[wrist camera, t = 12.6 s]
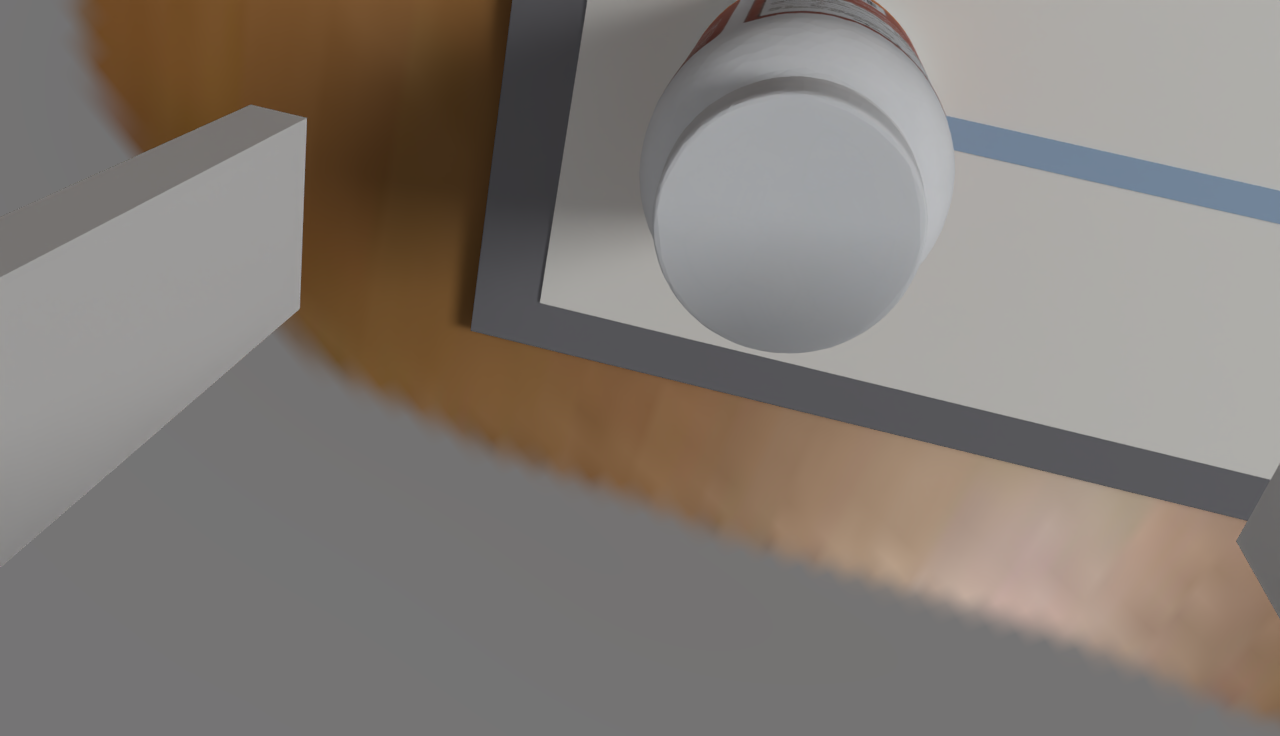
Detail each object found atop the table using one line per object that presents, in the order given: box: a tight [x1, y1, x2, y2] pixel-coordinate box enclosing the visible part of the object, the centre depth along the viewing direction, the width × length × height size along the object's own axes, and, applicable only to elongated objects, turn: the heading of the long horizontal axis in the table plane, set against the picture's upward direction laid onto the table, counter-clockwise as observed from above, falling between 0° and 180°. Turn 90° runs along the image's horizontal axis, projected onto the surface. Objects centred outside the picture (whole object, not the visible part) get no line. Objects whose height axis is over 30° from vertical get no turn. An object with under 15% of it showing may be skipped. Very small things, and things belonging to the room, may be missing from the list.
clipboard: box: [471, 0, 1280, 521], centre depth 28 cm, size 18×30×1 cm, turn 79°
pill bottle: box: [639, 0, 955, 353], centre depth 23 cm, size 6×6×11 cm
